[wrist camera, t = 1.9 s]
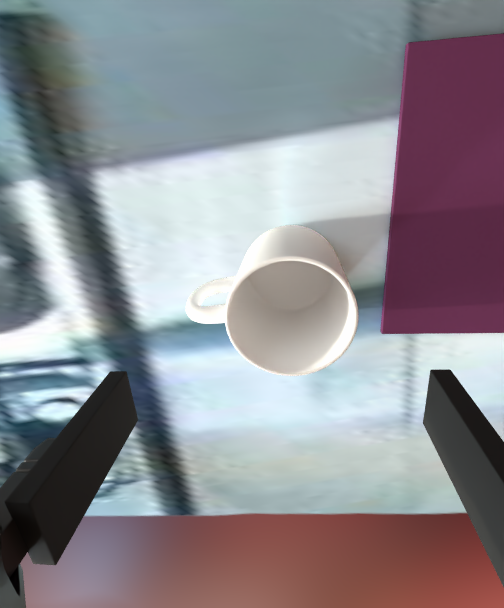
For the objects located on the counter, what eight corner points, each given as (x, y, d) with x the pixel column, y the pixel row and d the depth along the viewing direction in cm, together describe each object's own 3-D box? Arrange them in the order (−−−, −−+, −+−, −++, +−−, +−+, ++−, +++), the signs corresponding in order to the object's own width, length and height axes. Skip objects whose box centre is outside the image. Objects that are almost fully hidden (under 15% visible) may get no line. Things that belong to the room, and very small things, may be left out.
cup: (339, 309, 33) (359, 373, 23) (211, 319, 34) (182, 382, 25) (336, 217, 29) (357, 249, 20) (195, 233, 31) (155, 269, 22)
